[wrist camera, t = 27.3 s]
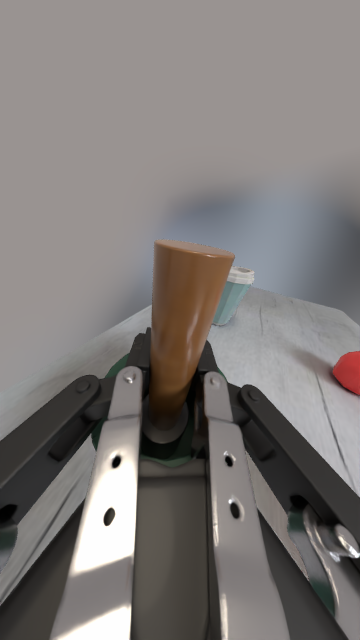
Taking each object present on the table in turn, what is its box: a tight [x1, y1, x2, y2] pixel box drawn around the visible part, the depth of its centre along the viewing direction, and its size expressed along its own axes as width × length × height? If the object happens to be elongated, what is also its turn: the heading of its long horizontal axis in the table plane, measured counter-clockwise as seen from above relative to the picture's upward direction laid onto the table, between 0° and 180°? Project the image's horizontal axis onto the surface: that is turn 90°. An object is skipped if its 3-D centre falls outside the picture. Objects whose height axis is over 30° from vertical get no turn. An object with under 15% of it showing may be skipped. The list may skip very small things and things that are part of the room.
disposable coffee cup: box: [212, 266, 254, 325], centre depth 36 cm, size 11×11×15 cm
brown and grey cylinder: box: [141, 240, 235, 460], centre depth 10 cm, size 4×4×18 cm
